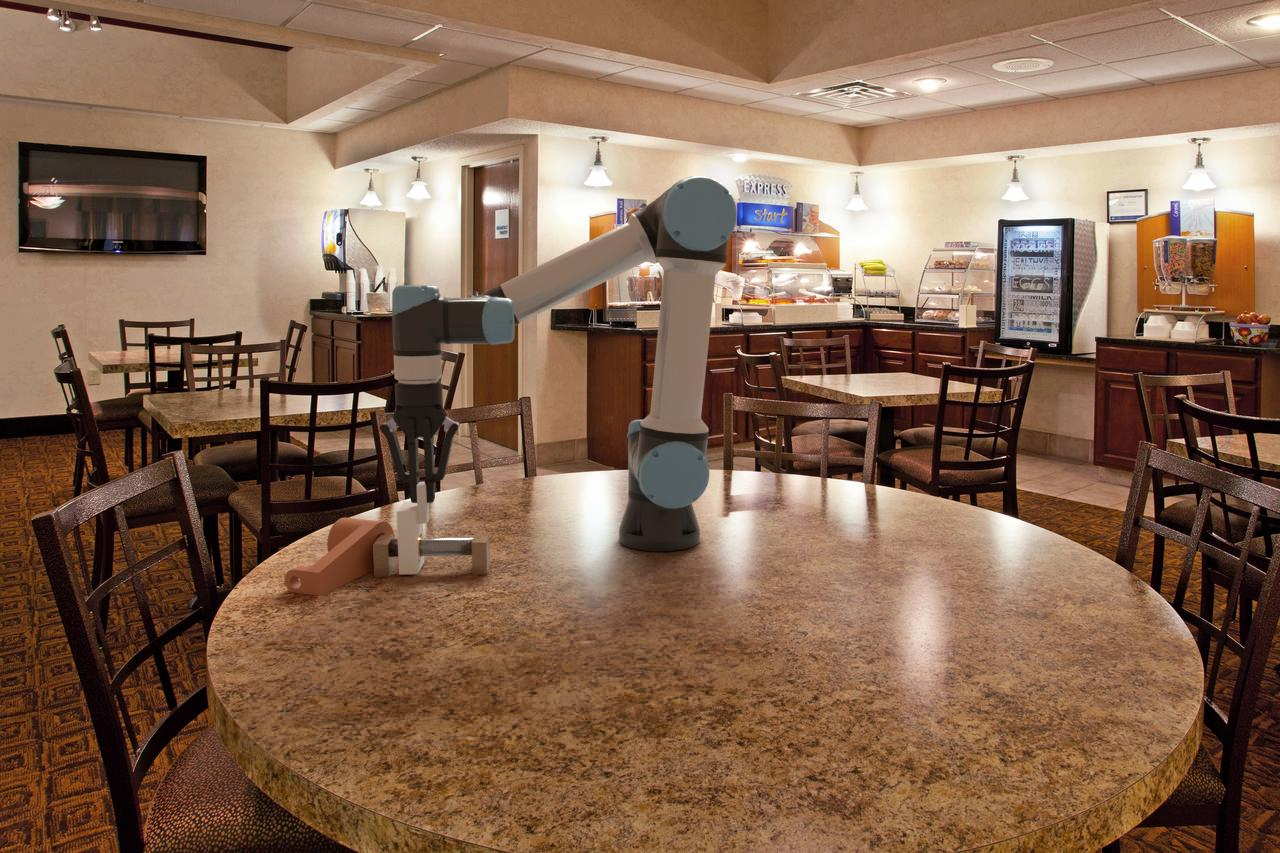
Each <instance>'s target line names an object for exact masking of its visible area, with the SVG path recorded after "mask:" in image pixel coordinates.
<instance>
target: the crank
mask: <svg viewBox="0 0 1280 853" xmlns="http://www.w3.org/2000/svg"><path fill="white" fill-rule="evenodd" d="M394 531H395V530H394V529H393V527H392V525H391V524H390V523H389V522H386V521H381V520H373V519H371V520H370V519H362V518H351V517H341V518H339V519H337V520H336V521H335V522H334V523H333V525H332V526H331V527H330V530H329V533H328V536H327V545H326V546H327V553H326V554H325V555H323V556H322V557H320V558H319V560H317V561H316V562H314V564H312V565H311V566H306V565H305V566H304V565H300V566H297V567H294V568H292V569H290V570H288V571H287V572H286V573H285V575H284V584H285V586H286V588H287V590H288V591H289V592H291V593H295V594H296V593H297V594H305V595H311V596H318V597H321V596H323V595H325V594H327V593H330V592H332V591H333V590H335V589H337V588H340V587H342V586H344V585H346V584H347V583H348V584H349V583H350V582H351V581H354V580H356V579H358V578H360V577H362V576H364V574H365V575H366V573H367V574H368V572H369V573H371V572H373V571H374V558H373V544H374V543H375V541H376V540H377V539H378V537H379V536H380V535H390V534H395V532H394ZM372 570H373V571H372ZM370 571H371V572H370Z"/></svg>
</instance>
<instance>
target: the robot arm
mask: <svg viewBox="0 0 1280 853" xmlns="http://www.w3.org/2000/svg"><path fill="white" fill-rule="evenodd" d="M737 212H738V211H737V205H736V202H735V199H734V197H733V194H732V193H731V191H729V190H728V188H727V187H726V186H725V185H724V184H723V183H721V182H720V181H718V180H716V179H714V178H712V177H711V178H710V177H708V176H687V177H685V178H682V179H680V180H678V181H677V182H675V183H674V184H673V185H671V187H669V188H667V189H666V190H665V191H664V192H663V193H662V194H660V196H658V197H657V198H655V199H654V200H653V201H651V202H649V203H648V204H646V206H644V207H642V208H640V209H638V210H636V211H635V212H632V213H631V214H630V216H629V219H628V221H627V222H625V223H623V224H621V225H619V226H617V227H615V228H613V229H611V230H609V231H607V232H605V233H603V234H601V235H599V236H597V237H595V238H593V239H590V240H589V241H587V242H585V243H583V244H581V245H579V246H576V247H574V248H572V249H569V250H568V251H566V252H564V253H562V254H560V255H558V256H556V257H554V258H552V259H550V260H548V261H546V262H544V263H542V264H540V265H538V266H536V267H534V268H532V269H530V270H527V271H526V272H524V273H523V272H522V274H520V275H517V276H515V277H513V278H511V279H509V280H508V281H506V282H503V283H502V284H500V285H498V286H495V287H492V288H491V289H489V290H486V291H485V292H483V293H481V294H478V295H476V296H474V297H445V296H441V294H440V290H439V287H438V286H437V285H430V284H429V285H423V284H422V285H419V284H418V285H417V284H416V285H415V284H413V285H411V284H409V285H407V284H406V285H401V284H400V285H397V286H395V287H394V288H393V289H392V293H391V294H392V295H391V313H390V314H391V327H392V328H391V330H392V345H393V372H394V380H397V382H396V383H395V384H394V392H395V397H394V398H395V409H394V412H393V414H392V418H391V419H389V420H388V421H385V422H383V423H382V424H380V426H379V430H380V432H381V433H382V435H383V436H384V437H385V438H386V442H387V444H388V448H389V451H390V455H391V458H392V461H393V466H394V467H395V468H394V469H395V471H396V474H397V475H396V476H397V479H398V480H399V481H400V482H405V483H408V484H409V489H410V490H409V491H410V492H409V493H410V495H409V496H410V501H411V502H412V503H417V511H418V524H423V525H425V524H428V523H429V521H430V503H431V504H433V503H434V501H435V499H436V487H435V483H436V482H440V481H442V480H444V478H445V476H446V474H447V469H448V464H449V460H450V455H451V451H452V446H453V441H454V436H455V435H456V433H457V431H458V430H459V428H460V427H461V423H460V422H459V421H455V420H452V419H451V418H449V417H448V416H447V412H446V411H445V409H444V400H443V399H444V397H443V383H442V382H441V381H439V380H440V379H441V378H442V377H443V370H442V369H443V368H442V367H443V366H442V348H441V347H442V345H444V344H445V345H454V344H455V345H457V344H460V345H461V344H462V345H491V346H495V345H499V344H500V345H501V344H511V343H512V342H513V341H514V339H515V332H516V330H515V326H517V325H519V324H521V323H523V322H526V321H528V320H529V319H531V318H533V317H535V316H538V315H540V314H541V313H544V312H546V311H547V310H550V309H552V308H554V307H555V306H558V305H561V304H562V303H564V302H566V301H568V300H570V299H573V298H574V297H576V296H578V295H581V294H583V293H585V292H587V291H589V290H591V289H593V288H595V287H597V286H599V285H601V284H603V283H605V282H607V281H610V280H611V279H614V278H616V277H618V276H619V275H622V274H623V273H626V272H628V271H630V270H632V269H635V267H638V266H640V265H642V264H644V263H647V262H648V263H650V264H653V265H654V264H657V263H658V264H659V265H660V267H661V268H662V270H663V272H662V273H663V276H662V285H661V286H662V287H661V296H660V304H659V305H660V309H659V318H658V329H657V338H656V348H655V360H654V369H653V370H654V371H653V380H652V381H653V382H652V392H651V401H650V412H649V414H647V416H646V417H645V418H643V419H634V420H631V422H629V424H628V429H627V430H628V432H627V436H626V438H627V439H628V442H627V444H628V445H627V446H628V448H627V449H628V453H627V455H628V463H627V464H628V466H627V467H628V470H627V472H628V476H627V477H628V478H627V479H628V480H627V481H628V485H627V488H628V489H627V490H628V491H627V492H628V493H627V494H628V499H627V503H626V507H625V509H624V513H623V516H622V519H621V523H620V525H619V531H618V540H619V543H620V544H621V545H623V546H625V547H627V548H630V549H633V550H639V551H646V552H672V551H674V552H675V551H682V550H686V549H690V548H693V547H695V546H697V545H699V543H700V541H701V529H700V525H699V522H698V519H697V516H696V513H695V510H694V509H695V508H694V507H693V503H694V502H696V501H697V500H699V499H700V498H701V497H702V496H703V494H704V492H705V491H706V489H707V488H708V485H709V480H710V465H709V461H708V459H707V452H708V451H707V450H708V441H709V429H710V428H709V427H708V426H707V424H706V423H705V422H704V420H703V419H702V413H703V412H702V409H703V399H704V390H705V381H706V372H707V361H708V352H709V341H710V334H711V333H710V332H711V321H712V313H713V303H714V293H715V283H716V277H717V276H716V275H717V274H718V273H719V272H720V271H721V270H723V269H724V268H725V267H726V266H727V257H728V249H729V240H730V238H731V236H732V235H733V233H734V230H735V227H736V224H737V223H736V222H737V217H738V216H737ZM442 425H444V427H443V431H444V432H445V435H444V439H443V444H442V447H441V454H440V456H439V457H440V458H439V461H438V468H437V472H436V470H435V447H434V446H435V445H434V443H435V442H434V441H435V440H434V439H435V435H436V433H437V432H438V430H439V429H440V427H441V426H442ZM397 426H398V428H399V429H400V430H401V431H402V432H403V433H404V435H405V436H406V440H407V442H406V443H407V451H408V453H407V454H408V456H407V457H408V469H407V465H406V462H405V459H404V455H403V452H402V449H401V445H400V441H399V438H398V435H397V433H396V432H397V430H398V428H397ZM419 438H422V442H423V454H424V479H425V480H424V481H420V478H421V477H420V462H419V459H420V458H419Z"/></svg>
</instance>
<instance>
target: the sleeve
mask: <svg viewBox="0 0 1280 853" xmlns="http://www.w3.org/2000/svg"><path fill="white" fill-rule="evenodd" d="M396 530H397V533H396V534H397V535H396V536H397V539H398V557H397V558H398V574H399V575H418V574H419V572H420V571H421V569H422V567H423V565H424V563H425V556H422V557H421V558H419V556H418V538H419V537H421V538H425V537H424V535H425V534H424V524H418V511H417V503H412V502H411V500H409V501H407V500H406V501H403V502H402V504H401V505H400V506H399V508H398V509H397V511H396Z"/></svg>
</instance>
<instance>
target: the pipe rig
mask: <svg viewBox="0 0 1280 853" xmlns="http://www.w3.org/2000/svg"><path fill="white" fill-rule="evenodd" d="M395 535H396V534H395V533H394V534H390V535H380V536H379V537H378V539H377V540H376V541H375V543H374V544H373V558H374V570H373V573H374V578H385V577H386V578H389V577H390V576H391V574H392V573H393V572H394V570H395V568H396V566H397V559H396V558H398V538H396V536H395ZM473 535H474V536H473V537H434V538H433V537H427V538H425V537H424V538H421V537H419V538H418V556H419V558H421V557H422V556H424V557H456V556H457V557H464V556H465V557H467V556H471V563H472V564H471V566H472V567H471V568H472V569H471V570H472V572H471V573H472V576H478V575H479V576H483V575H488V573H489V569H490V567H491V566H490V565H491V540H490V539H491V538H490V532H475V533H474V534H473Z"/></svg>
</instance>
